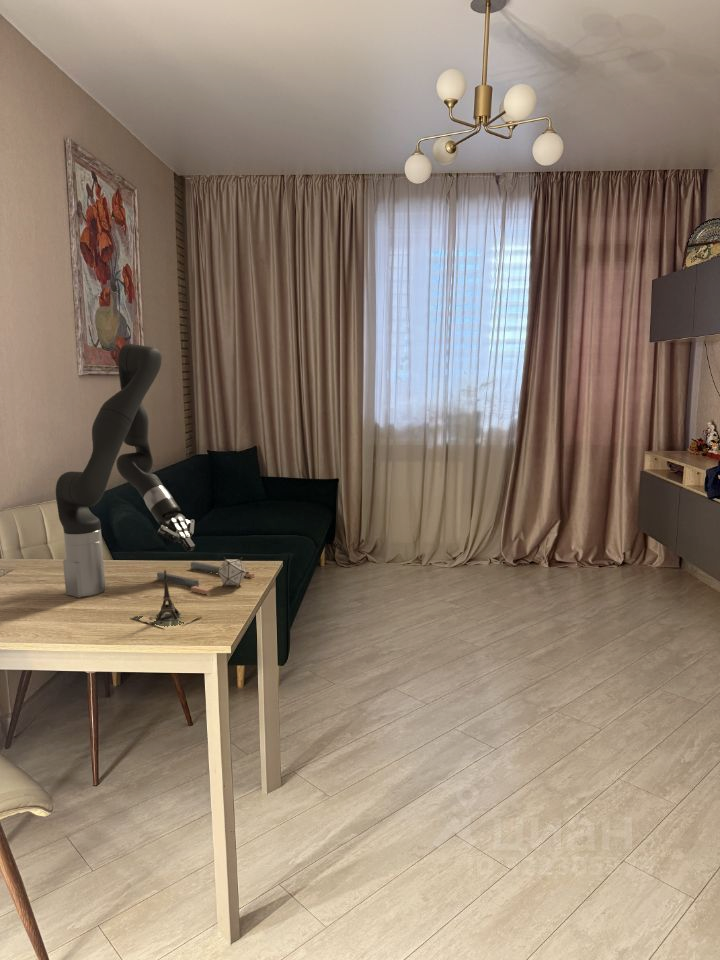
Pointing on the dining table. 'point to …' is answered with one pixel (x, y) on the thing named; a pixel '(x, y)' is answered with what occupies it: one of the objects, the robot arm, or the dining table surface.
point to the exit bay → (207, 591)
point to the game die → (232, 572)
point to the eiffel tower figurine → (166, 610)
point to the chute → (187, 581)
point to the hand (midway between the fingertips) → (191, 549)
